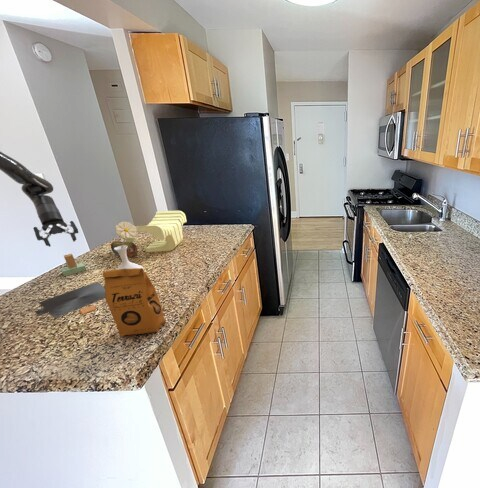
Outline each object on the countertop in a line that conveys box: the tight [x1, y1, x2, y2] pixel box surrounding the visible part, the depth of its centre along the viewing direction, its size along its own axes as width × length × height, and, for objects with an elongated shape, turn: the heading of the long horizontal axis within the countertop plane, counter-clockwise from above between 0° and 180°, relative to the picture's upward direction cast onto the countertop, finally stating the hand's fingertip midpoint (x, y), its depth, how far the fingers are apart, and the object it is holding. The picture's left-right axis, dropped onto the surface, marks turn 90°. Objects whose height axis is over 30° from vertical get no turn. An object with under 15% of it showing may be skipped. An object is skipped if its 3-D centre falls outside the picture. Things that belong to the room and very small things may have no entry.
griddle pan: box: [34, 281, 106, 319], centre depth 101 cm, size 23×18×1 cm
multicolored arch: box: [110, 239, 139, 258], centre depth 138 cm, size 15×3×8 cm, turn 76°
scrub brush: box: [60, 253, 87, 277], centre depth 121 cm, size 8×5×8 cm, turn 140°
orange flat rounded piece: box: [79, 304, 98, 316], centre depth 93 cm, size 4×4×2 cm
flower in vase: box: [112, 221, 144, 270], centre depth 116 cm, size 13×11×25 cm
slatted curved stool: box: [134, 209, 187, 253], centre depth 148 cm, size 30×16×18 cm, turn 6°
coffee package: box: [102, 268, 166, 337], centre depth 82 cm, size 10×12×22 cm
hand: (62, 243), depth 122 cm, fingers open, 8 cm apart
